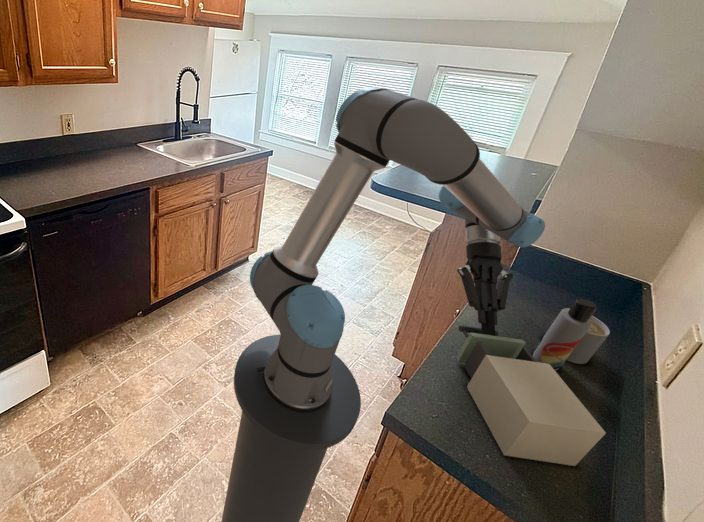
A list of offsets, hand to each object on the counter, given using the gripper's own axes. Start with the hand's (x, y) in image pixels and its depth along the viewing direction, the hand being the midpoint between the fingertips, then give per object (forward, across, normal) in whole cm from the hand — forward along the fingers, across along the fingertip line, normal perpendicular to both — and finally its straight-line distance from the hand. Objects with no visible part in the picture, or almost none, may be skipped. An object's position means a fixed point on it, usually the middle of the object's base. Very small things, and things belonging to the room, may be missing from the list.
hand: (488, 338), depth 92 cm
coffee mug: (-2, -29, -12) cm, 31 cm away
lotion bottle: (+4, -19, -7) cm, 20 cm away
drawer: (+9, 0, -1) cm, 9 cm away
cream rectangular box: (+17, 0, +7) cm, 19 cm away
